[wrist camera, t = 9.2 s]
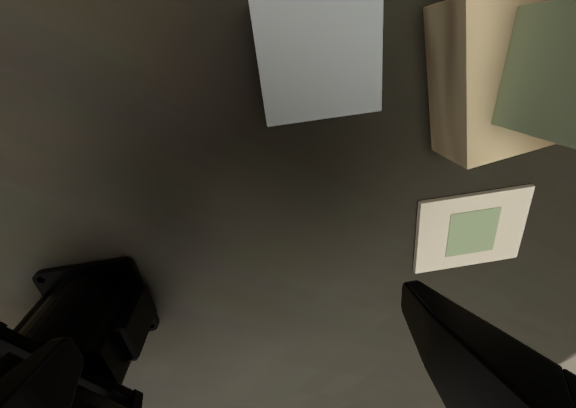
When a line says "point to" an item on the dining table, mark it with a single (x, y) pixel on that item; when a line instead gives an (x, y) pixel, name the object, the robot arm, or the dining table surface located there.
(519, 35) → the sage cube
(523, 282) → the dining table surface
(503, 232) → the card
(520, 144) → the birch block
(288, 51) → the blue-grey cube
